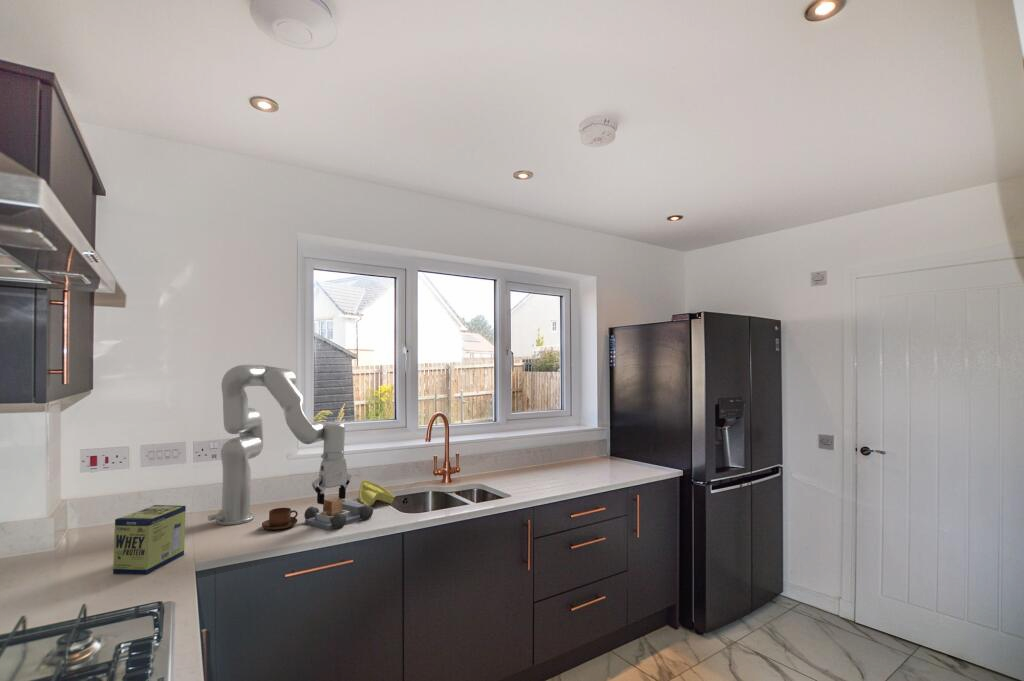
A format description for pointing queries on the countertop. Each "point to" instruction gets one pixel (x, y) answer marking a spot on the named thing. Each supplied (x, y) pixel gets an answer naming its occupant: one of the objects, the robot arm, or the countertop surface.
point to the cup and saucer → (280, 519)
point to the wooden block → (332, 506)
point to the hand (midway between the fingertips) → (331, 501)
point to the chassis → (338, 515)
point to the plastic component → (373, 493)
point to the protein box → (148, 539)
